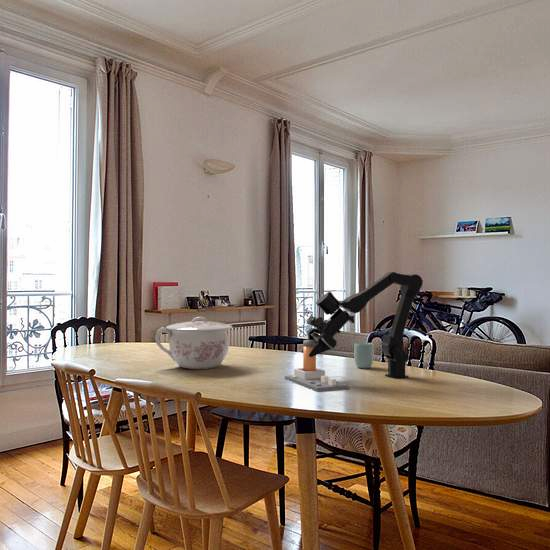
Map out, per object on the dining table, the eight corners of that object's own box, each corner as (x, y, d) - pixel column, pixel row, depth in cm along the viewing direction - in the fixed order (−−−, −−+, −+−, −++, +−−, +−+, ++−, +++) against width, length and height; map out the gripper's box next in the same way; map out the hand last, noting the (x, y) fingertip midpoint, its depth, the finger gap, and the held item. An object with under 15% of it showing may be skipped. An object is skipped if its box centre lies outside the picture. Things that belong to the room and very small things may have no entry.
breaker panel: (348, 388, 187) (348, 377, 187) (316, 391, 182) (316, 380, 182) (313, 376, 209) (313, 366, 209) (284, 379, 204) (284, 368, 204)
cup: (351, 368, 228) (351, 343, 229) (357, 365, 235) (358, 342, 235) (369, 369, 225) (370, 345, 225) (375, 367, 232) (376, 343, 232)
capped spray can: (318, 376, 203) (318, 340, 203) (310, 378, 199) (310, 341, 199) (308, 375, 206) (308, 339, 206) (300, 376, 202) (300, 340, 202)
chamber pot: (245, 365, 234) (245, 316, 234) (205, 375, 211) (205, 320, 211) (193, 359, 249) (193, 313, 249) (149, 368, 225) (150, 317, 225)
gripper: (312, 306, 212) (284, 336, 210) (328, 309, 194) (297, 342, 192) (332, 327, 214) (304, 356, 212) (349, 332, 196) (319, 364, 194)
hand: (305, 354), depth 202 cm, fingers open, 9 cm apart
